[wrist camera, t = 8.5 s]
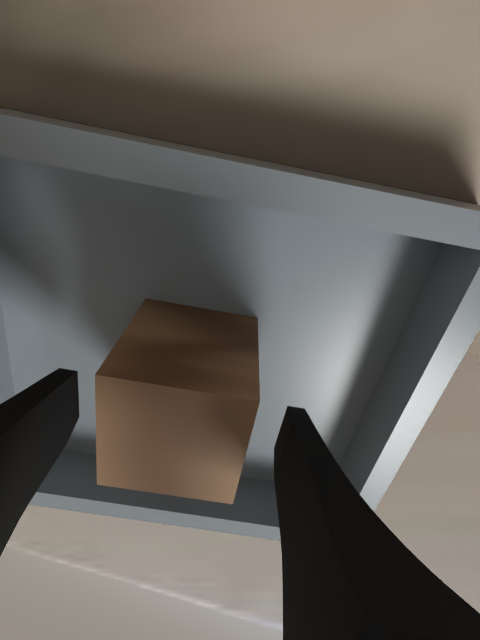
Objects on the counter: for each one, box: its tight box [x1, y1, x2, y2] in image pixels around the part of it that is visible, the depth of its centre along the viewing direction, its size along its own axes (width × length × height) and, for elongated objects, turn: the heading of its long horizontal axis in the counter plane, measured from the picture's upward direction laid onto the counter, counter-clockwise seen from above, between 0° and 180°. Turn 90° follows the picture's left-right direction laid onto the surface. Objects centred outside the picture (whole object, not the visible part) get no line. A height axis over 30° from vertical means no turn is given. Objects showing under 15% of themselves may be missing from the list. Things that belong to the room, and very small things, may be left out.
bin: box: [0, 107, 480, 541], centre depth 14 cm, size 18×16×3 cm
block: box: [95, 298, 260, 504], centre depth 13 cm, size 4×4×5 cm
